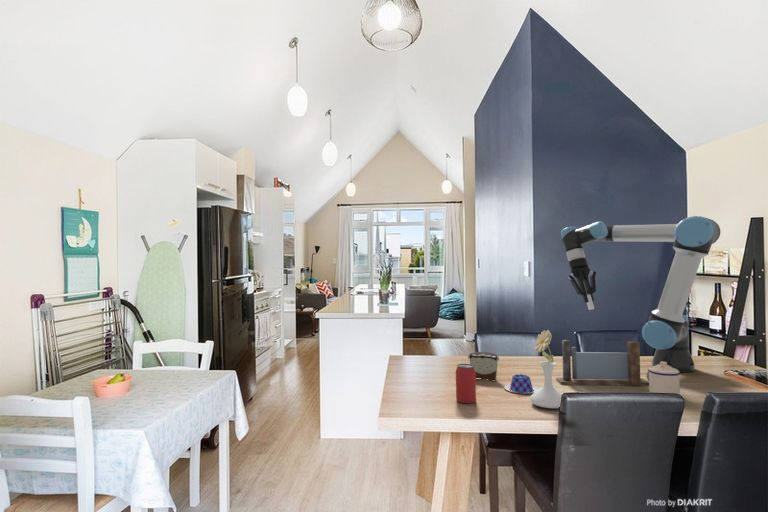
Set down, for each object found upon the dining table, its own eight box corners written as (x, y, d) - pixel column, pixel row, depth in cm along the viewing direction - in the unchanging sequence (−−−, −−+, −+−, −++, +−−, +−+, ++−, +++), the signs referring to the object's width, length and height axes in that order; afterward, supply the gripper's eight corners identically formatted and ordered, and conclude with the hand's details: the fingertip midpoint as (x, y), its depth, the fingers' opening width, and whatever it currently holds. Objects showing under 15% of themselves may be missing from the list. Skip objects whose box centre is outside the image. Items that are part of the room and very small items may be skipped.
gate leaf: (630, 378, 161) (629, 347, 161) (632, 379, 159) (631, 347, 159) (571, 377, 163) (571, 346, 164) (573, 379, 162) (572, 347, 162)
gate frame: (642, 381, 163) (641, 339, 163) (652, 386, 156) (650, 342, 156) (556, 380, 166) (555, 339, 166) (561, 385, 159) (560, 342, 159)
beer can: (454, 398, 146) (453, 363, 147) (472, 397, 147) (472, 362, 147) (459, 404, 140) (458, 368, 140) (478, 403, 140) (477, 367, 141)
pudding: (498, 386, 160) (498, 372, 160) (528, 384, 162) (528, 370, 162) (513, 396, 148) (513, 381, 148) (545, 394, 150) (545, 379, 150)
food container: (502, 377, 171) (501, 352, 172) (499, 381, 166) (499, 355, 166) (472, 374, 177) (471, 350, 177) (468, 378, 171) (467, 353, 171)
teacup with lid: (687, 399, 141) (686, 364, 141) (662, 401, 139) (661, 365, 140) (659, 389, 152) (658, 356, 153) (636, 390, 151) (635, 357, 151)
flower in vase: (529, 398, 144) (527, 325, 145) (565, 401, 141) (563, 326, 142) (531, 412, 132) (529, 331, 132) (570, 415, 129) (568, 332, 129)
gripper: (587, 259, 201) (602, 308, 194) (560, 263, 200) (574, 312, 194) (594, 255, 193) (609, 305, 186) (566, 259, 193) (580, 310, 186)
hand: (591, 309), depth 190 cm, fingers closed
